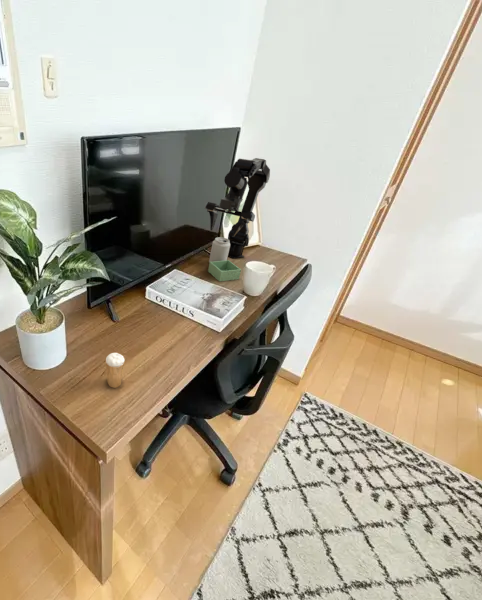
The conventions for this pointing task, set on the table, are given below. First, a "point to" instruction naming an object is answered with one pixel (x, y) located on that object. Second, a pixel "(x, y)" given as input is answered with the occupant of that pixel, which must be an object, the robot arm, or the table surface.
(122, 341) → the table surface
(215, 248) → the can
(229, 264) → the bin
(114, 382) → the milkshake
